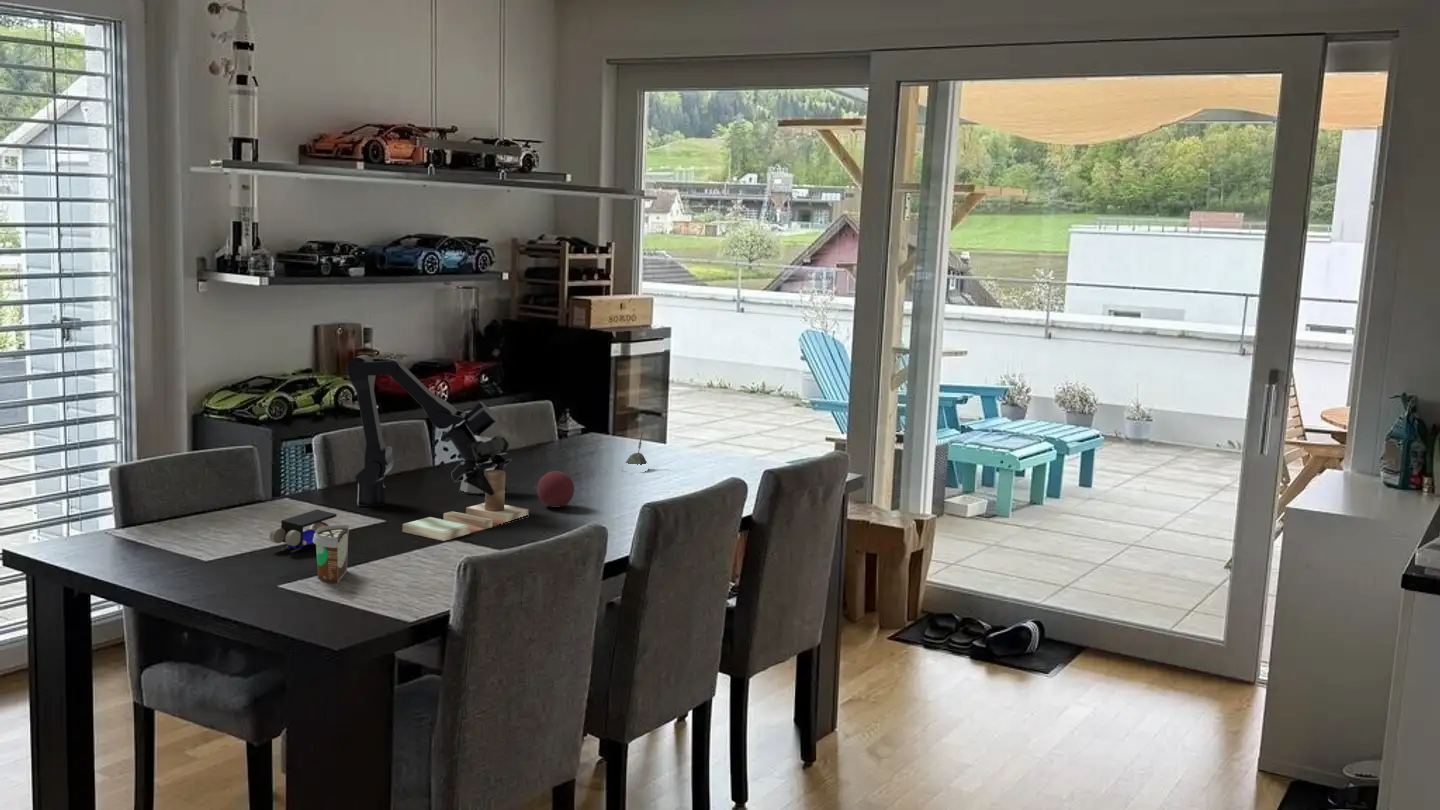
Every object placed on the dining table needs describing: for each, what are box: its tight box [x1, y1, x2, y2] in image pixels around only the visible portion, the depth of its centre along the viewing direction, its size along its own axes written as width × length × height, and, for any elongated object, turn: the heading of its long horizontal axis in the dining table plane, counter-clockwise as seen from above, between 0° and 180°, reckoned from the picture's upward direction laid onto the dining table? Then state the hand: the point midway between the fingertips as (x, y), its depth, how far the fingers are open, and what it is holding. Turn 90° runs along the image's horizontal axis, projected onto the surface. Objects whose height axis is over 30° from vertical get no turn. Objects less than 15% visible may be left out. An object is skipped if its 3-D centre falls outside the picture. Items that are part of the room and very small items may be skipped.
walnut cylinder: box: [484, 469, 506, 512], centre depth 331 cm, size 5×5×10 cm
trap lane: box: [402, 502, 529, 542], centre depth 323 cm, size 33×13×2 cm, turn 152°
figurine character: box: [269, 508, 338, 554], centre depth 293 cm, size 7×8×15 cm
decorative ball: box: [536, 470, 575, 507], centre depth 347 cm, size 10×10×10 cm
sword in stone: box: [625, 431, 648, 465], centre depth 405 cm, size 10×8×12 cm
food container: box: [312, 524, 350, 584], centre depth 271 cm, size 12×6×10 cm, turn 5°
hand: (499, 492), depth 331 cm, fingers closed on walnut cylinder, 5 cm apart
